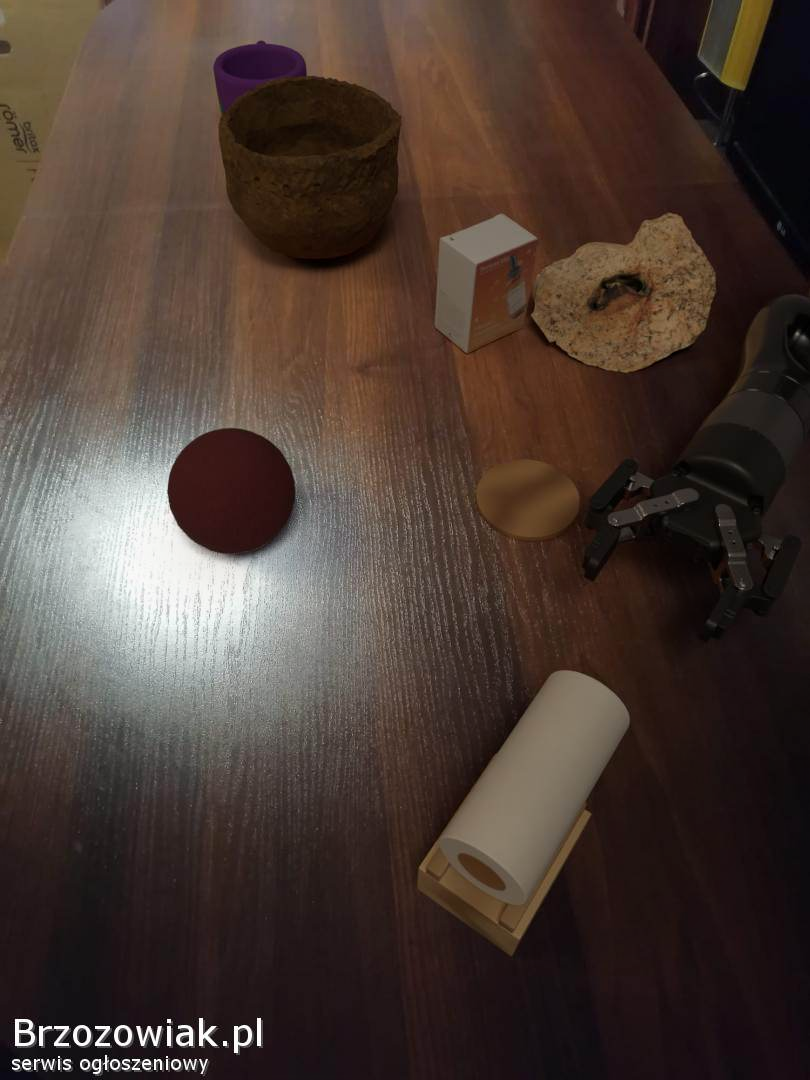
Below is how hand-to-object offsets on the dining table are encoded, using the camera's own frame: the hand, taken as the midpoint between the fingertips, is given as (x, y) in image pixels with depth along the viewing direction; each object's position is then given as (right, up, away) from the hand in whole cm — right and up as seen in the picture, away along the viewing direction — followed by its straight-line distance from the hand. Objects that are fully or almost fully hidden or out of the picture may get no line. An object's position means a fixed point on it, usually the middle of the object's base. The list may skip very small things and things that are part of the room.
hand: (646, 603), depth 58 cm
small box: (-9, +26, +32) cm, 42 cm away
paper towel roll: (-8, -10, -6) cm, 15 cm away
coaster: (-6, +8, +17) cm, 20 cm away
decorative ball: (-30, +5, +15) cm, 34 cm away
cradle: (-10, -17, -2) cm, 20 cm away
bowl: (-26, +38, +41) cm, 62 cm away
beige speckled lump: (+6, +26, +32) cm, 42 cm away
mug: (-35, +59, +57) cm, 89 cm away
